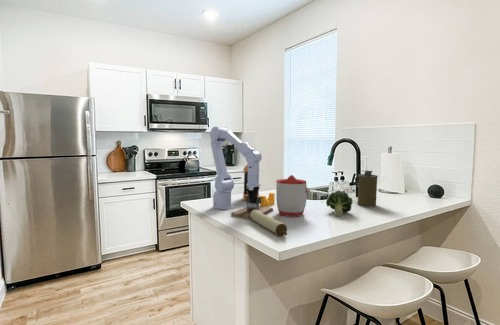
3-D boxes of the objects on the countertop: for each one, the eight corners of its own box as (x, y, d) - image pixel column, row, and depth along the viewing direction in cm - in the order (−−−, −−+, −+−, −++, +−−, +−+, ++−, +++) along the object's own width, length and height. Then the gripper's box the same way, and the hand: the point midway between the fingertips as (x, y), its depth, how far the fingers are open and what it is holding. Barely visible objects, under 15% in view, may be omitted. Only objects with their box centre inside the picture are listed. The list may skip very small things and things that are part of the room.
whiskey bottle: (259, 201, 176) (260, 148, 174) (243, 201, 176) (243, 148, 173) (258, 197, 187) (259, 147, 184) (243, 197, 187) (243, 147, 184)
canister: (377, 204, 172) (378, 170, 170) (375, 208, 163) (377, 172, 161) (357, 202, 177) (359, 169, 175) (355, 205, 168) (356, 171, 166)
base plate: (231, 215, 143) (231, 212, 143) (251, 207, 161) (251, 204, 161) (254, 219, 137) (254, 216, 137) (272, 210, 154) (273, 207, 154)
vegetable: (320, 210, 147) (324, 193, 159) (337, 227, 148) (340, 208, 160) (339, 200, 140) (341, 182, 151) (357, 217, 141) (358, 198, 153)
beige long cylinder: (245, 218, 139) (245, 207, 139) (256, 216, 142) (256, 206, 141) (280, 240, 110) (280, 227, 110) (292, 238, 112) (292, 225, 112)
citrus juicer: (310, 219, 139) (311, 177, 137) (274, 217, 142) (274, 176, 140) (309, 211, 154) (310, 173, 152) (276, 209, 157) (277, 172, 155)
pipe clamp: (267, 203, 173) (268, 192, 173) (274, 204, 171) (274, 193, 170) (257, 207, 163) (257, 195, 163) (263, 208, 161) (263, 196, 160)
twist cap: (256, 212, 144) (256, 197, 143) (242, 210, 148) (243, 195, 148) (263, 209, 149) (263, 195, 148) (250, 207, 154) (250, 193, 153)
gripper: (259, 177, 139) (258, 205, 141) (263, 173, 154) (262, 199, 155) (244, 177, 141) (244, 204, 142) (249, 173, 155) (249, 198, 156)
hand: (253, 201), depth 148 cm, fingers closed on twist cap, 4 cm apart
